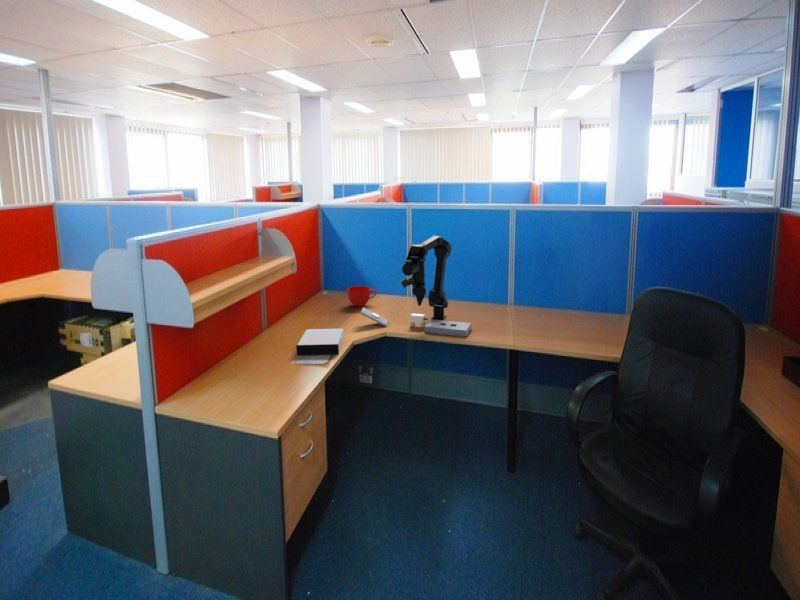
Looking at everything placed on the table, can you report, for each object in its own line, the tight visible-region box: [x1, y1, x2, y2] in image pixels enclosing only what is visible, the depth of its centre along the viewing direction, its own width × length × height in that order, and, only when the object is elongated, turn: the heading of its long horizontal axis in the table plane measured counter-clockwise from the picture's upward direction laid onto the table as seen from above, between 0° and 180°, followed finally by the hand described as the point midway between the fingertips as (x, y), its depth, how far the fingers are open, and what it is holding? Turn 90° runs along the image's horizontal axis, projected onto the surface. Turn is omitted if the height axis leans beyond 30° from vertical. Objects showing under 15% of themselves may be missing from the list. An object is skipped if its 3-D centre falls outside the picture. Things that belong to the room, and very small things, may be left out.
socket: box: [424, 319, 472, 337], centre depth 229 cm, size 12×20×3 cm, turn 70°
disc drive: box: [295, 328, 345, 356], centre depth 212 cm, size 18×22×5 cm
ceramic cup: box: [346, 285, 378, 308], centre depth 276 cm, size 13×17×10 cm
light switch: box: [359, 306, 389, 327], centre depth 241 cm, size 8×6×14 cm
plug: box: [409, 313, 429, 328], centre depth 236 cm, size 4×8×6 cm, turn 70°
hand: (419, 303), depth 230 cm, fingers open, 9 cm apart
